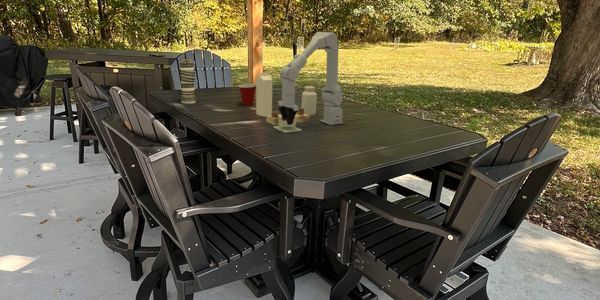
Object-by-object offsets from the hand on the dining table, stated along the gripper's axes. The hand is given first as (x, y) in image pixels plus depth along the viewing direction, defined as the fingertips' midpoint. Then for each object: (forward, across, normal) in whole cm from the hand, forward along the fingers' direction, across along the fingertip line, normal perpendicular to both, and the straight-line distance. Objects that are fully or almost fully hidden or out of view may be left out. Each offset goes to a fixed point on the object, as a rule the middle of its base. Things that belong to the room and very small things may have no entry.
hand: (287, 123), depth 177 cm
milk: (+3, -31, +4) cm, 31 cm away
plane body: (+3, -13, +8) cm, 16 cm away
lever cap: (+1, 0, 0) cm, 1 cm away
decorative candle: (+3, -81, -21) cm, 84 cm away
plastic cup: (+3, -60, +8) cm, 61 cm away
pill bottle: (+3, -23, +27) cm, 36 cm away
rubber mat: (+3, 0, 0) cm, 3 cm away
